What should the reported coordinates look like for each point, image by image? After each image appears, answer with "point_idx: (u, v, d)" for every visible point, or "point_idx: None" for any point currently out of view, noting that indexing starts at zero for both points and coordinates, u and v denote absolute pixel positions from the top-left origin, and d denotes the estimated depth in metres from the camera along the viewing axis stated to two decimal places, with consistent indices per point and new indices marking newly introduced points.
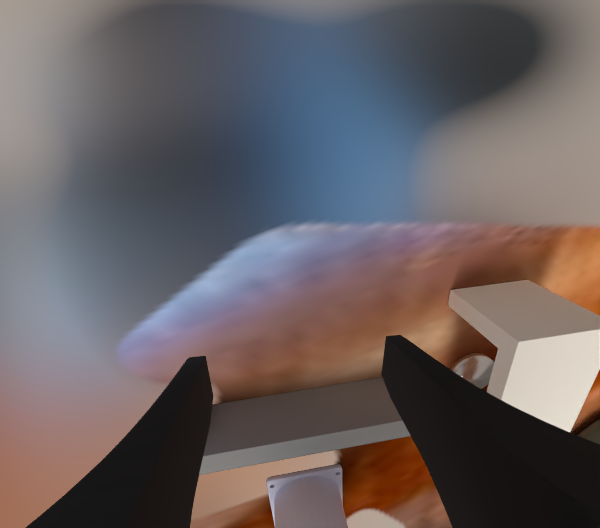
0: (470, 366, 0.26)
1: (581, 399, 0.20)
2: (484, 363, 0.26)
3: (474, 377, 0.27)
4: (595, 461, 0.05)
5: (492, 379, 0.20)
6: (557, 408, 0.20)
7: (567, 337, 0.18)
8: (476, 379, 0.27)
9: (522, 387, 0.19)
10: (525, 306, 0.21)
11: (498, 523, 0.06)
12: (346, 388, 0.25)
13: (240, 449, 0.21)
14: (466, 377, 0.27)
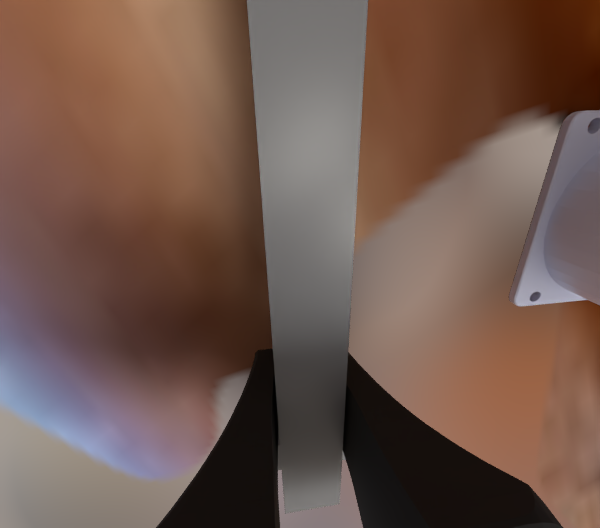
0: None
1: None
2: None
3: None
4: (474, 483, 0.05)
5: None
6: None
7: None
8: None
9: None
10: None
11: None
12: None
13: (282, 428, 0.09)
14: None
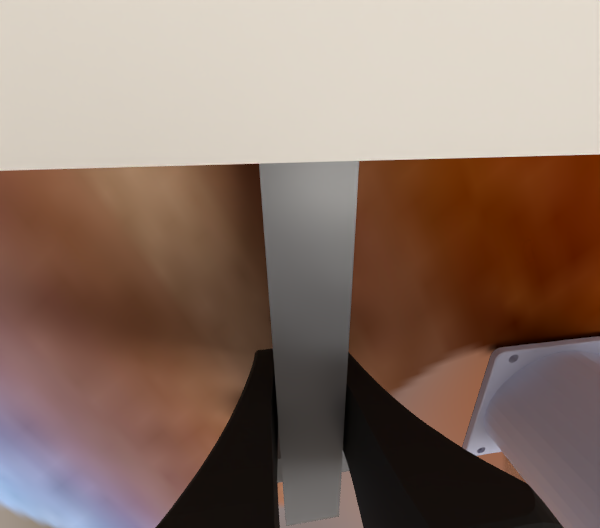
0: None
1: None
2: None
3: None
4: (474, 482, 0.05)
5: None
6: None
7: None
8: None
9: None
10: None
11: None
12: None
13: (284, 445, 0.09)
14: None
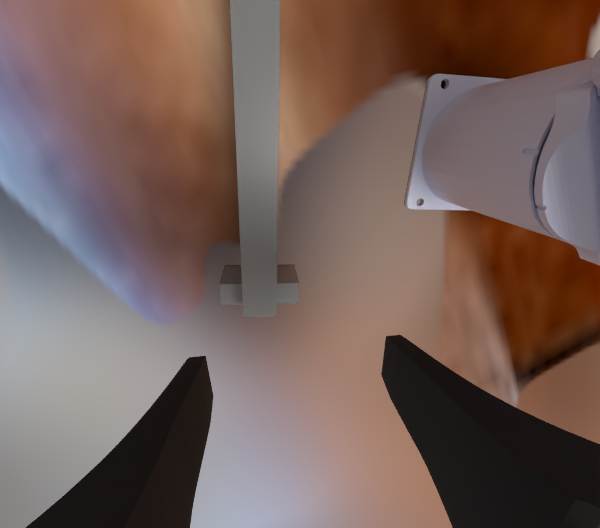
0: None
1: None
2: None
3: None
4: (595, 461, 0.05)
5: None
6: None
7: None
8: None
9: None
10: None
11: (498, 523, 0.06)
12: None
13: (242, 250, 0.15)
14: None
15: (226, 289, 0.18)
